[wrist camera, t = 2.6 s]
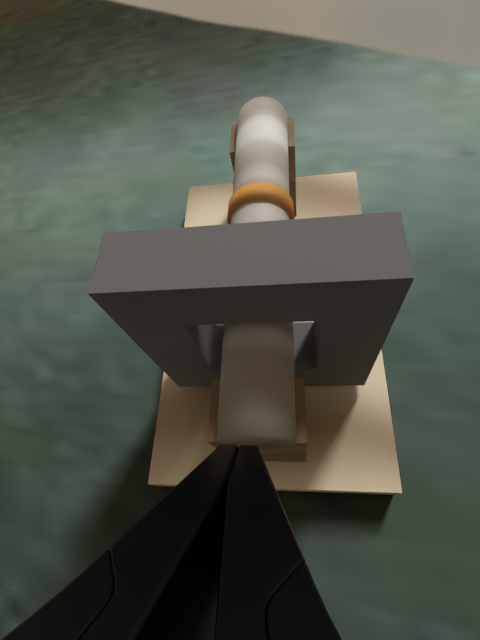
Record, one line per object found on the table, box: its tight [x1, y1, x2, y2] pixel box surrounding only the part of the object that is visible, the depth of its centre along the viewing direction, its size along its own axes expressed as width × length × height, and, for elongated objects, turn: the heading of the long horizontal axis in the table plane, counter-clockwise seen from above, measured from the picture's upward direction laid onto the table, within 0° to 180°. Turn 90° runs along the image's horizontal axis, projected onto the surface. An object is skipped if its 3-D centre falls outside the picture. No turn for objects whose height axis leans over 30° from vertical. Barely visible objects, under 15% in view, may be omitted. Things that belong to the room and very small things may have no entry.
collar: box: [88, 211, 414, 387], centre depth 13 cm, size 2×8×8 cm, turn 88°
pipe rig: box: [148, 97, 402, 495], centre depth 17 cm, size 17×10×7 cm, turn 178°
